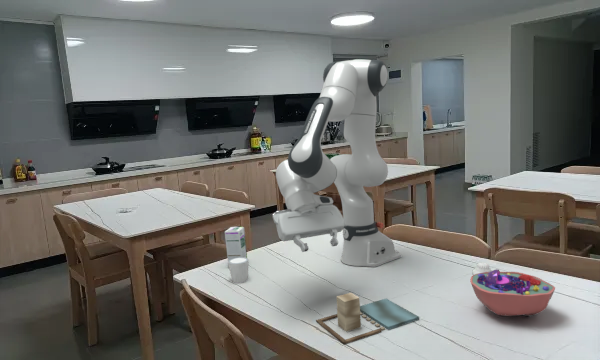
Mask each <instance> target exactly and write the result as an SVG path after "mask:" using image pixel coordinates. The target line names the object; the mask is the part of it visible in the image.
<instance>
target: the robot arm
mask: <svg viewBox="0 0 600 360" xmlns="http://www.w3.org/2000/svg"><path fill="white" fill-rule="evenodd" d="M387 68H388V67H387V65H386V64H385V62H384V61H383V60H379V59H374V58H373V59H361V58H359V59H358V58H357V59H350V60H349V59H347V60H342V61H332V62H330V63H328V64H327V66H326V67H325V68H324V71H323V76H322V78H323V85H322V89H321V91H320V95H319V96H318V98H317V99H316V100H315V101H314V102H313V104H312V106H311V108H310V110H309V112H308V114H307V117H306V119H305V123H304V124H303V127H302V129H301V132H300V134H299V136H298V139H296V142H295V143H294V145H293V146H292V147H291V149H290V151H289V153H288V156H287V159H284V160H283V161H281V163H279V165H278V166H277V168H276V171H275V178H276V183H277V185H278V188H279V192H280V193H281V195H282V197H283V198H284V201H285V207H286V209H283V210H276V211H275V212H274V213H273V214H272V220H273V222H274V224H275V228H276V231H277V232H276V233H277V235H278V238H279V239H280V241H282V242H288V241H289V242H291V241H293V243H294V244H295V245H296V246H298V247H299V248H300V251H301V252H302V253H304V252H308V251H309V246H308V243H307V242H305V243H304V242H303V241H302V239H305V238H307V239H308V238H311V237H318V236H324V235H329V236H330V237H332V238H331V240H330V241H329V243H330V246H331V247H337V246H338V245H339V241H338V238H337V237H338V233H341V232H342V237H343V247H342V253H341V257H340V261H341V262H342V263H343V264H345V265H347V266H353V267H354V266H355V267H373V268H375V267H378V266H381V265H384V264H386V263H389V262H391V261H394V260H398V259H400V258H402V253H401V252H400V251H399V250H396V249H395V244H394V242H393V240H392V239H391V238H390V237H388V236H387V235H386V234H384V233H382V232H381V230H379V229H383V228H384V226H385V225H384V223H383V222H381V221H375V220H374V219H375V214H374V212H375V211H374V202H373V200H372V198H371V196H370V195H368V194H367V192H366V191H365V187H366V188H370V187H377V186H380V185H382V184H384V182H386V180H387V178H388V173H389V170H388V169H389V168H388V164H387V163H386V161H385V160H384V159H383V158H382V156H381V155H380V153H379V150H378V147H377V143H376V126H377V125H376V124H377V114H378V113H377V104H378V103H377V96H378V94H379V93H380V92H382V90H384V89H385V88H386V84H387V82H388V75H389V74H388V69H387ZM341 121H344V122H343V123H344V125H343V137H344V139H345V141H346V142H347V143H348V144H349V146H350V149H351V154H350V153H348V154H346V153H342V154H339V155H335V156H333V157H331V158H329V157H328V156H327V155H326V154H325V153H324V152H323V149H322V144H321V143H322V139H323V137H324V134H325V131H326V128H327V126H328V123H329V122H332V123H336V122H337V123H338V122H341ZM333 184H334V185H335V187H336V190H337V191H338V194H339V196H340V200H341V207H342V212H341V211H340V209H339V208H338V207H337V206H336V205H335V204H333V203H334V200H333V198H332V197H330V196H324V195H320V194H319V195H318V194H316V193H318V192H321V191H323V190H325V189H327V188H329V187H331V186H332V185H333Z"/></svg>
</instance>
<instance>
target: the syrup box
mask: <svg viewBox="0 0 600 360" xmlns="http://www.w3.org/2000/svg"><path fill="white" fill-rule="evenodd" d="M245 235H246V233H245V227H244V226H230V227H229V228H228V229H227V230H225V231H224V238H225V246H226V257H227V264H228V267H229V263H228V261H229V260H231V259H233V258H239V257H244V258H248V253H247V252H248V251H247V244H246V243H247V242H246V236H245Z"/></svg>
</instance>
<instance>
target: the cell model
mask: <svg viewBox="0 0 600 360" xmlns="http://www.w3.org/2000/svg"><path fill="white" fill-rule="evenodd" d="M470 284H471V286H472V289H473V292H474V294H475V297H476V298H477V300H479V302H480V303H481V304H482V305H483V306H484V307H485V308H487V309H488V310H489V311H491V312H492V313H494V314H496V315H497V316H503V317H505V316H507V317H515V316H525V317H528V316H529V317H530V316H531V317H532V316H535V315H538V314H540V313H542V312H543V311H544V310H545V309H547V307H548V305H549V303H550V300H551V299H552V298H553V295H554V293H555V290H556V287H555V286H554V285H552V284H551V283H549V282H547V281H545V280H544V279H542V278H539V277H537V276H535V275H531V274H527V273H523V272H518V271H501V270H500V269H496V268H495V269H493V270H492V271H490V272H483V273H478V274H475V275H473V274H472V276H471V277H470Z"/></svg>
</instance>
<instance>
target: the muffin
mask: <svg viewBox="0 0 600 360" xmlns="http://www.w3.org/2000/svg"><path fill="white" fill-rule="evenodd" d="M490 271H493V270H492V269H491V268H490V265H489V263H486V262H478V263H477V264H476V267H475V268H474V269H473V270H472V272H471V274H472V276H473V275H475V274H478V273H483V272H490Z"/></svg>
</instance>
